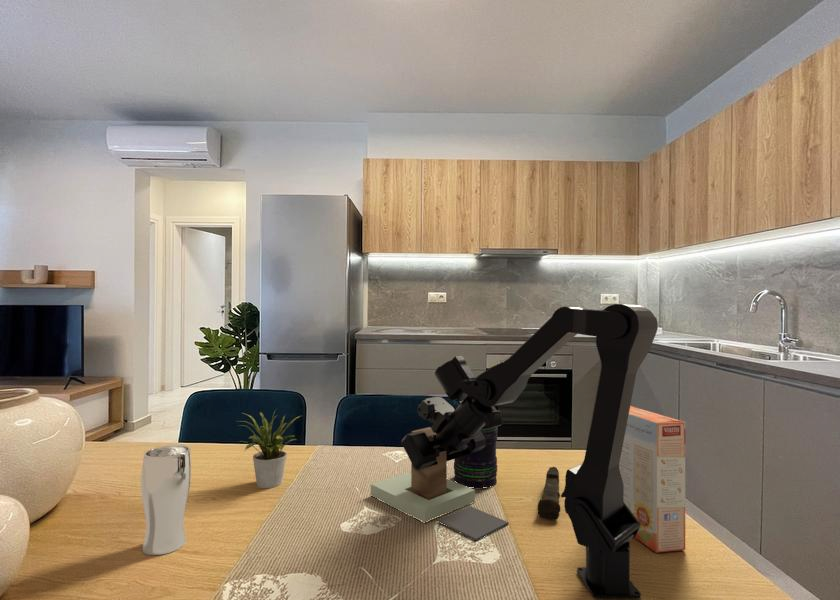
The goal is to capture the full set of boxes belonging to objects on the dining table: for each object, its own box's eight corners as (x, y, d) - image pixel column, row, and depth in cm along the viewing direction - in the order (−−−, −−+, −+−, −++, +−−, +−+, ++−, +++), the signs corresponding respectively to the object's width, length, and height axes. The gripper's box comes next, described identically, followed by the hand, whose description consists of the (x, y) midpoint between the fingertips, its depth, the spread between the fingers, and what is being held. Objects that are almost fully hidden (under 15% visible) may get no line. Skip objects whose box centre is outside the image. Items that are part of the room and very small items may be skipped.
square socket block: (474, 502, 89) (474, 489, 90) (424, 524, 80) (424, 509, 80) (420, 479, 101) (420, 468, 101) (370, 496, 92) (370, 484, 92)
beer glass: (178, 530, 76) (180, 442, 77) (196, 544, 72) (199, 450, 72) (131, 546, 71) (135, 451, 71) (148, 562, 66) (152, 460, 67)
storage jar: (459, 470, 108) (460, 408, 108) (500, 476, 104) (501, 411, 105) (448, 485, 98) (449, 417, 99) (492, 492, 95) (493, 421, 95)
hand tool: (559, 523, 81) (560, 498, 82) (537, 519, 83) (537, 494, 83) (566, 487, 99) (567, 466, 99) (548, 484, 101) (548, 463, 101)
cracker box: (688, 551, 72) (687, 420, 73) (655, 555, 71) (655, 422, 71) (630, 513, 86) (630, 403, 86) (602, 515, 84) (602, 404, 85)
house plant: (212, 492, 92) (215, 413, 93) (252, 470, 106) (254, 400, 106) (274, 500, 89) (276, 418, 90) (307, 476, 102) (309, 404, 103)
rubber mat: (508, 524, 80) (508, 522, 80) (476, 541, 74) (476, 538, 74) (470, 508, 87) (470, 506, 87) (437, 522, 81) (437, 520, 81)
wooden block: (446, 502, 89) (446, 431, 89) (428, 510, 86) (428, 436, 86) (429, 495, 93) (429, 427, 93) (411, 502, 89) (411, 431, 90)
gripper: (475, 381, 93) (437, 424, 101) (409, 390, 81) (371, 439, 88) (506, 426, 87) (463, 468, 95) (439, 444, 75) (396, 491, 82)
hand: (424, 465), depth 90 cm, fingers closed on wooden block, 5 cm apart
